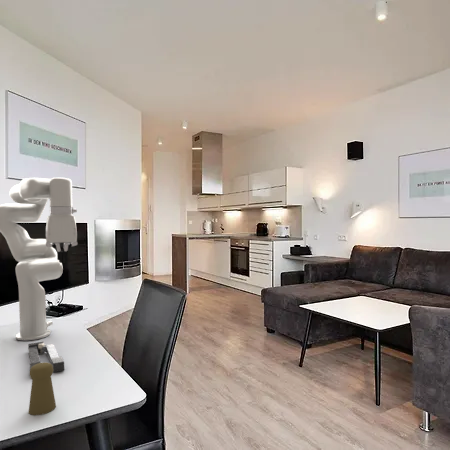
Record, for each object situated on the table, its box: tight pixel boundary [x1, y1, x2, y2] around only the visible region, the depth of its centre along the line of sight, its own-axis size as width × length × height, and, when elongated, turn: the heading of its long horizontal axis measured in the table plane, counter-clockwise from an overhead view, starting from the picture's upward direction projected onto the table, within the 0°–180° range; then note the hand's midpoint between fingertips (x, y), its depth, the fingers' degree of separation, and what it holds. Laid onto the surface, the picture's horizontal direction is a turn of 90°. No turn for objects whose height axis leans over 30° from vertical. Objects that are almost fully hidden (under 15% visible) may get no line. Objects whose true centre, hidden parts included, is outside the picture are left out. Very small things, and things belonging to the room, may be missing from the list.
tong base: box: [27, 341, 45, 370], centre depth 120 cm, size 26×5×3 cm, turn 31°
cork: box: [28, 361, 57, 416], centre depth 89 cm, size 6×6×11 cm
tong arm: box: [38, 342, 65, 373], centre depth 120 cm, size 22×5×3 cm, turn 32°
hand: (62, 262), depth 133 cm, fingers closed
